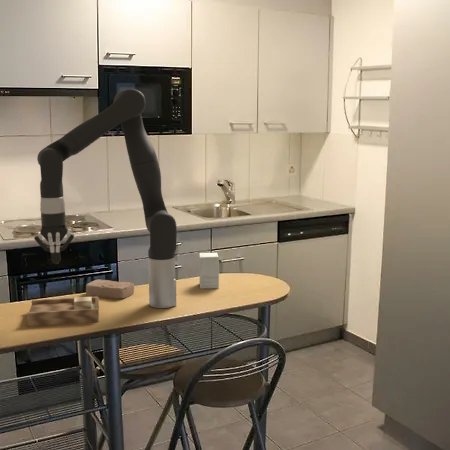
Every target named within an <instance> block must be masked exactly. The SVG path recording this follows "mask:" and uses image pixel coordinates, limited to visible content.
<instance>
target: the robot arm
mask: <svg viewBox="0 0 450 450" xmlns="http://www.w3.org/2000/svg"><path fill="white" fill-rule="evenodd" d="M146 105H147V104H146V97H145V95H144V93H142V92H141V91H140V90H139V89H135V88H126V89H121V90H119V91H118V92H117V93H116V94H115V96H114V98H113V103H111V104H110V105H109V106H108V107H106V108H105V109H104V110H103V111H101V112H99V113H98V114H96V115H94V116H93V117H91V118H89V119H87V120H85V121H84V122H81V123H80V124H79V125H77V126H75V127H74V128H73V129H72V130H70V131H68V132H67V133H65V134H64V135H63V136H62V137H60V138H59V139H57V140H56V141H54V142H52V143H50V144H48V145H46V146H45V147H44V148H42V149H41V150H40V151H39V152H38V155H37V164H38V165H39V168H40V182H39V189H40V205H39V207H40V209H39V210H40V221H41V222H40V223H41V229H40V230H39V231H40V232H39V233H38V234H37V235H35V236H34V237H33V240H34V241H35V242H36V243H37V244H38V245H39V246H40V247H41V248H42V249H43V250H44V251H45V252H49V253H50V259H51V260H50V261H51V263H53V265H57V264H58V265H59V263H60V262H61V260H62V259H61V252H62V251H65V250H66V249H67V247H68V246H69V245H70V243H72V241H73V240H74V238H75V234H74V233H71V232H70V231H68V230H69V229H68V228H67V221H66V220H67V219H66V207H65V206H66V204H65V199H64V198H65V197H64V185H63V175H64V174H63V173H64V171H63V170H64V162H65V161H66V160H68V159H69V158H70V157H72V156H75V155H78V154H79V153H81V152H82V151H84V150H85V149H86V148H88V147H90V145H92V144H93V143H95V142H96V141H97V140H99V139H100V138H101V137H102V136H105V134H107V133H108V132H109V131H111V130H112V129H115V128H116V127H117V126H119V125H120V126H121V130H122V133H123V137H124V141H125V146H126V151H127V155H128V159H129V163H130V167H131V171H132V175H133V178H134V181H135V185H136V187H137V191H138V193H139V195H140V200H141V203H142V209H143V213H144V214H143V215H144V221H145V226H146V229H147V231H148V232H149V248H148V251H147V252H148V253H147V255H148V260H147V261H148V297H149V298H148V301H149V306H150V307H152V308H155V309H167V308H168V309H169V308H172V307H177V279H176V251H177V240H178V239H177V238H178V235H177V234H178V233H177V231H178V230H177V222H176V219H175V217H174V216H172V214H170V213H169V212H168V210H167V207H166V203H165V201H164V197H163V192H162V174H161V167H160V164H159V161H158V160H159V159H158V156H157V153H156V150H155V148H154V145H153V143H152V142H151V139H150V138H149V136H148V133H147V132H146V129H145V126H144V122H143V121H144V120H143V118H142V113H144V110H145V108H146ZM64 238H66V240H65V242H63V245H61V242H62V241H63V239H64ZM43 239H45V241H46V242H48V244H47V243H45V241H44V240H43Z"/></svg>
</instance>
